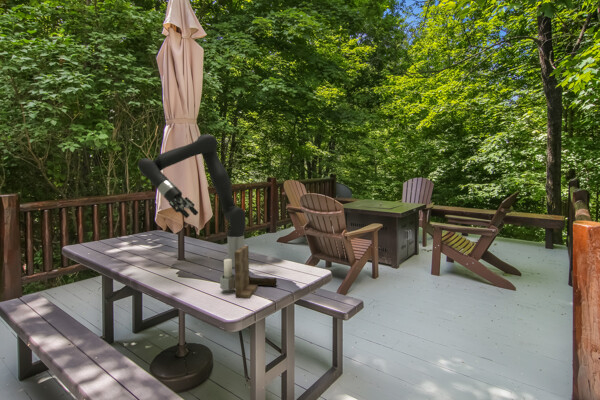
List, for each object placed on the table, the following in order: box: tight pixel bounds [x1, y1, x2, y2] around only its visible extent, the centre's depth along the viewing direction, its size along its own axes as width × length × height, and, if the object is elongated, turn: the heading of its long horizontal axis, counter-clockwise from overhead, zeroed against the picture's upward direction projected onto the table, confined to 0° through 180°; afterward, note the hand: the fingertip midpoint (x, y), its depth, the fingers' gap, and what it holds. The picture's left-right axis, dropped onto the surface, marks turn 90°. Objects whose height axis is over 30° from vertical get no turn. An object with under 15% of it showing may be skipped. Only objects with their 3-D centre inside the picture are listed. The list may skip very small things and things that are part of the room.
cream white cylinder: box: [223, 258, 233, 279], centre depth 152 cm, size 4×4×12 cm
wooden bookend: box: [234, 245, 259, 299], centre depth 150 cm, size 12×6×20 cm, turn 169°
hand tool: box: [249, 275, 278, 288], centre depth 161 cm, size 19×4×5 cm, turn 80°
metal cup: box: [219, 273, 235, 291], centre depth 152 cm, size 7×9×5 cm
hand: (192, 215), depth 163 cm, fingers open, 8 cm apart
